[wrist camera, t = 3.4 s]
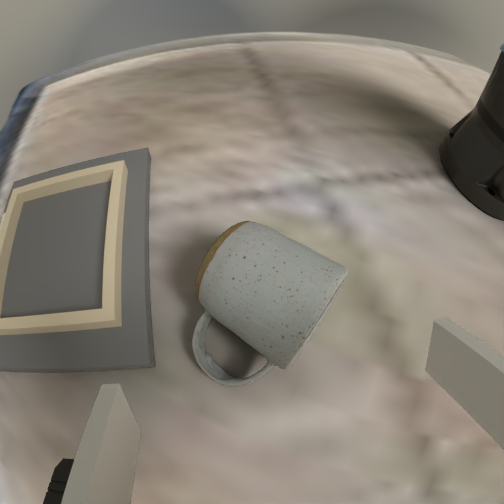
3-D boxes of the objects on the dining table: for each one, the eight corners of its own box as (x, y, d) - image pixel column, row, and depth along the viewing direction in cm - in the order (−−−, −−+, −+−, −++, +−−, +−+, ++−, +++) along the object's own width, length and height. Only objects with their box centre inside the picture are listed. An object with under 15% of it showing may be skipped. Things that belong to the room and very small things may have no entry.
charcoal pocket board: (150, 157, 32) (145, 137, 30) (155, 366, 22) (143, 359, 19) (19, 189, 31) (8, 174, 28) (-13, 370, 20) (-33, 362, 17)
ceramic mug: (250, 247, 27) (250, 188, 20) (334, 298, 25) (363, 252, 18) (170, 348, 23) (138, 318, 16) (260, 411, 21) (265, 411, 14)
